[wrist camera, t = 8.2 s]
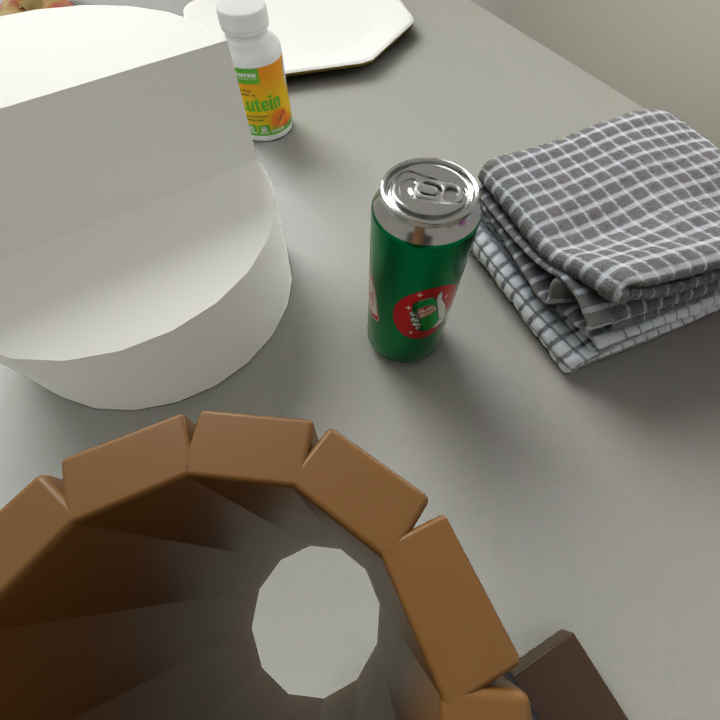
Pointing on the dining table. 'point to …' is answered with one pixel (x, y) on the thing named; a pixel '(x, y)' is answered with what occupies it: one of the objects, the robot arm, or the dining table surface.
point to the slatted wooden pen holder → (232, 581)
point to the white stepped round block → (130, 208)
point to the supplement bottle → (257, 67)
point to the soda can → (418, 253)
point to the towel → (605, 234)
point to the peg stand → (565, 682)
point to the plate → (323, 30)
